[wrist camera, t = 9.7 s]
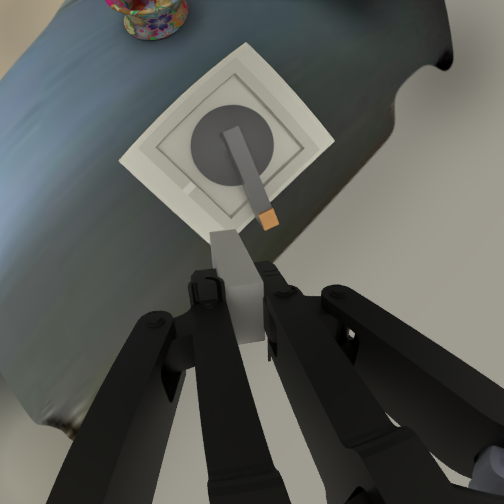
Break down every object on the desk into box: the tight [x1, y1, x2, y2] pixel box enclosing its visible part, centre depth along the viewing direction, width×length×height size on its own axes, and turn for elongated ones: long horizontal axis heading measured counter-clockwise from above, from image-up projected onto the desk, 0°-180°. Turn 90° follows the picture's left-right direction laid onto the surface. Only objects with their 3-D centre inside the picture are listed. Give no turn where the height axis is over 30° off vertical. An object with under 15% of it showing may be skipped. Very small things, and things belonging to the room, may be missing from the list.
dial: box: [191, 105, 279, 230], centre depth 33 cm, size 15×10×6 cm, turn 22°
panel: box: [119, 42, 334, 245], centre depth 34 cm, size 22×18×3 cm
